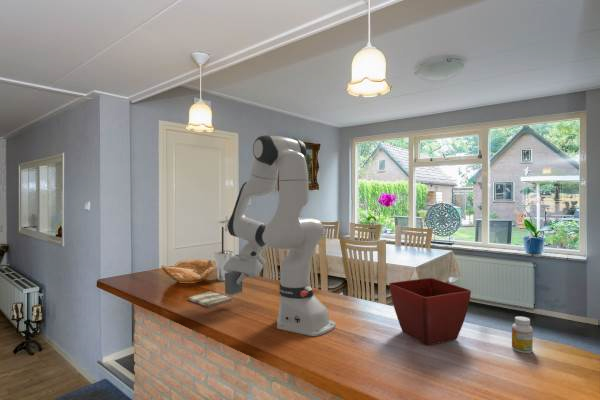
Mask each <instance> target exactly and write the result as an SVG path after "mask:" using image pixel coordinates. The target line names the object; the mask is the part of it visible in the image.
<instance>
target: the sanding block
mask: <svg viewBox="0 0 600 400" xmlns="http://www.w3.org/2000/svg"><path fill="white" fill-rule="evenodd" d="M240 276H241V273H240V272H235V271H233V272H229V273H225V281H224V285H225V286H224V291H225V292H224V293H225V294H224V296H228V297H230V296H231V297H233V296H236V295H240V294H243V292H244V291H243V280H242V281H241V282H240V284H236V283H235V280H236V278H237V279H238V278H239V277H240Z"/></svg>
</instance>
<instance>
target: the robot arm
mask: <svg viewBox="0 0 600 400" xmlns="http://www.w3.org/2000/svg"><path fill="white" fill-rule="evenodd" d="M252 145H253V147H252V153H253V156H254V160H253V164H252V167H251V171H250V172H251V174H250V177H249V179H248V180H247V181H245V182H244V183H243V184H242V185H241V187H240V190H239V192H238V195H237V198H236V201H235V205H234V207H233V209H232V213H231V215H230V218H229V220H228V221H227V224H226V228H227V230H228V233H229V235H230V236H232V237H235V238H240V239H243V240H245V241H247V242H246V243H245V245H244V246H243V247H242V249H241V250H240V252H239V254H235V255H232V257H231V258H230V259H229V260H228V261H227V262H226V264H225V265H224V267H223V269H224V270H225V271H226V272H227V273H229V272H233V271H235V272H240V273H241V276H240V277H239V278H238V279H237V278H236V280H235V283H236V284H240V282H241V281H242V282H243V281H244V280H245V279H246V278H251V279H256V278H257V277H258V276H259V275H260V273H261V272H262V270H263V268H264V266H265V264H266V262H267V261H266V259H264V258H263V256H262V255H263V252H264V251H265V250H266V249H267V247H269V248H271V249H277V250H288V249H289V251H288V254H287V256H286V257H285V258H284V259H283V260H282V261H281V263H280V284H279V286H278V290H279V291H278V292H279V295H280V296H279V297H280V300H279V306H278V314H277V318H276V329H278V330H282V331H288V332H292V333H296V334H301V335H303V336H309V337H318V336H321V335H324V334H327V333H329V332H331V331H333V329H334V328H336V322H335V321H333V320H331V319H330V315H329V311H328V308H327V307H326V306H325V305H324V304H323V303H322V302H321V301H320V299H318V298H317V297H316V296H315V293H314V292H315V291H317V290H316V287H312V284H311V264H312V263H311V262H312V258H313V255H314V252H315V249H316V248H317V245H318V244H319V243H320V242H321V240H323V238H324V236H325V235H324V233H325V228H324V226H323V224H322V222H321V221H320V220H319V219H318V218H314V217H310V216H309V217H308V216H305V217H300V215H301V211H302V209H303V208H304V207H305V206H306V205H307V204H308V203H309V199H310V197H309V196H310V195H309V194H310V193H309V191H310V187H309V172H308V171H309V170H308V164H307V159H306V156H307V147H306V144H305V142H303V141H302V140H300V139H297V138H290V137H286V136H282V135H260V136H257V138H256V139H255V141H254V142H253V144H252ZM277 181H278V202H277V203H278V204H277V208H276V211H275V213H274V215H273V217H272V219H270V221H269V222H268V223H263V222H262V221H259V220H255V219H252V218H250V217H249V216H248V217H247V216H246V215H245V213H246V209H247V207H248V204H249V200H250V199H251V198H252V197H261V196H263V197H264V196H267V195H269V194H271V193H272V192H273V191H274V190H275V188H276V186H277Z"/></svg>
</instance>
